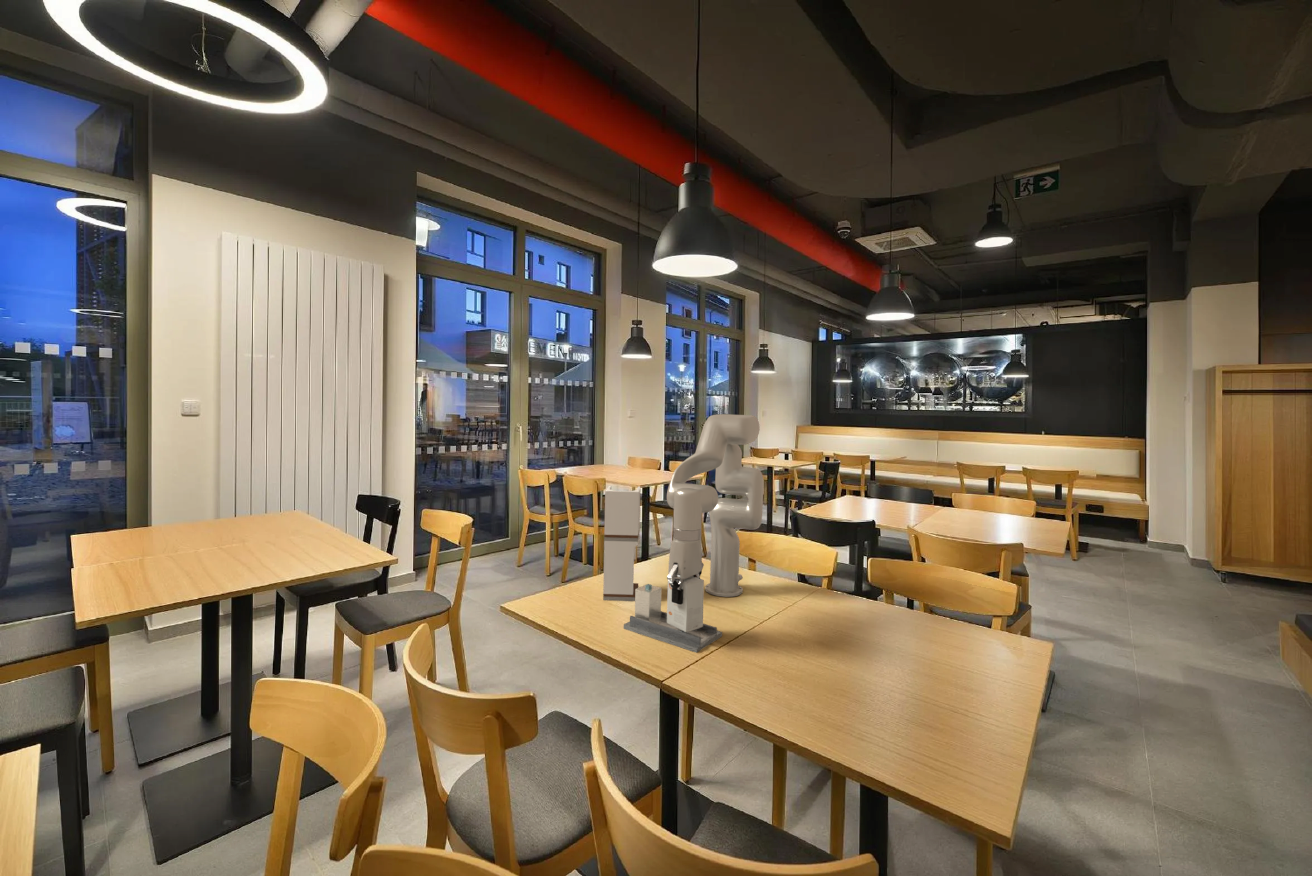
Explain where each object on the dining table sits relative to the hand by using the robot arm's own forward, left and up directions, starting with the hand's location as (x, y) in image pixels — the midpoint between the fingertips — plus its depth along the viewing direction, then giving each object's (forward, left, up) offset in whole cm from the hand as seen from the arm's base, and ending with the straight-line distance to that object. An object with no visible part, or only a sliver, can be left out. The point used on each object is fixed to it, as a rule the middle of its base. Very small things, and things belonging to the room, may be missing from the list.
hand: (685, 598), depth 151 cm
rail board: (0, -4, -10) cm, 11 cm away
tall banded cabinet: (-15, -34, -11) cm, 39 cm away
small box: (0, 0, -8) cm, 8 cm away
